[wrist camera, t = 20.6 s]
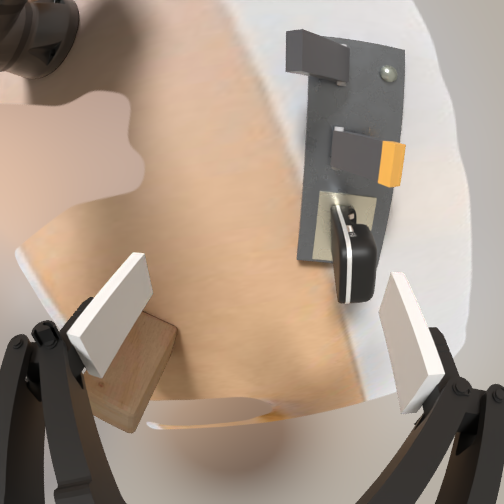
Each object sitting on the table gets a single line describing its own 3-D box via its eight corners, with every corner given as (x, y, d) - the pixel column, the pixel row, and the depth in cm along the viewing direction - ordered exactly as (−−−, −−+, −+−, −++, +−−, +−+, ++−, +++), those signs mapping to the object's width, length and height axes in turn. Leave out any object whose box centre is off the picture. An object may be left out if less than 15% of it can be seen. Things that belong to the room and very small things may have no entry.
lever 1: (336, 85, 27) (285, 75, 22) (337, 46, 25) (286, 27, 20) (351, 86, 26) (301, 75, 21) (351, 45, 24) (302, 25, 19)
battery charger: (360, 253, 36) (376, 310, 27) (331, 254, 37) (338, 312, 27) (360, 201, 33) (383, 245, 23) (329, 203, 34) (339, 247, 24)
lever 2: (326, 168, 31) (388, 191, 25) (329, 126, 29) (395, 140, 22) (338, 167, 32) (399, 189, 26) (341, 126, 30) (406, 141, 23)
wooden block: (130, 303, 51) (74, 383, 34) (179, 325, 51) (134, 416, 34) (127, 335, 56) (81, 410, 39) (170, 356, 56) (133, 437, 39)
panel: (297, 252, 40) (296, 261, 38) (308, 38, 27) (309, 34, 25) (374, 259, 39) (377, 268, 37) (399, 52, 25) (405, 49, 23)
